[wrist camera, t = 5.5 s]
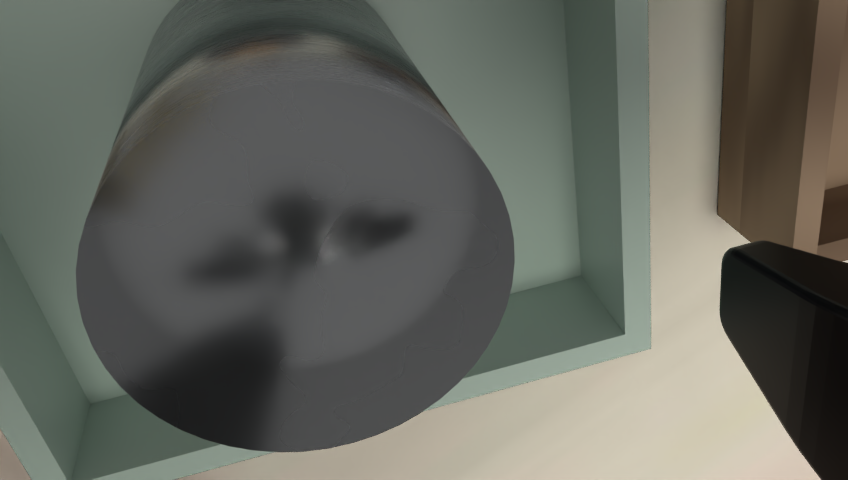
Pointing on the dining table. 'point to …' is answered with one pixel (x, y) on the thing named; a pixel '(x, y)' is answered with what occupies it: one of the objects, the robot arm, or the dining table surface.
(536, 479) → the dining table surface
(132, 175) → the cylinder
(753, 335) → the robot arm
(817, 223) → the walnut pallet
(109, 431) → the sage tote
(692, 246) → the dining table surface
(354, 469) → the dining table surface
